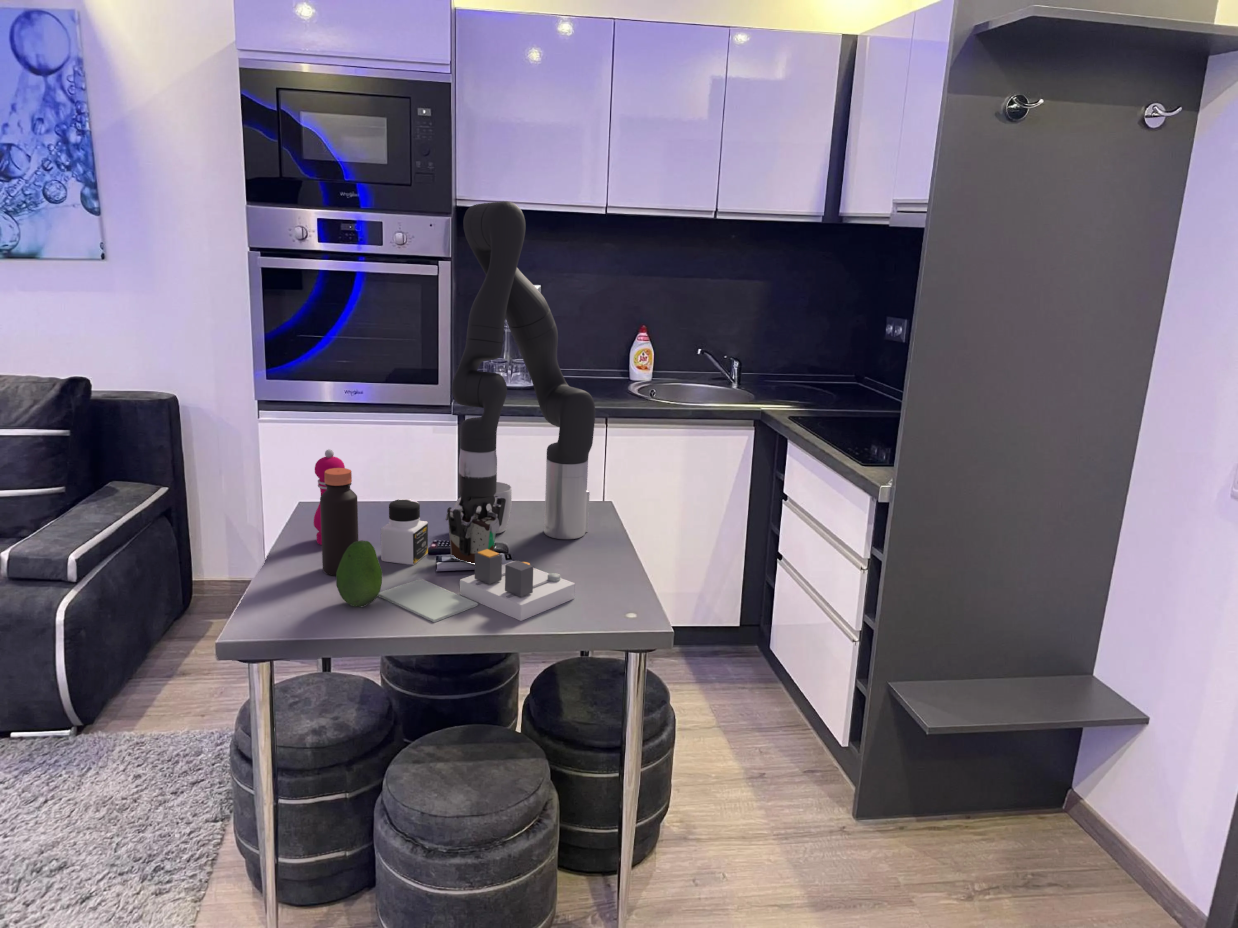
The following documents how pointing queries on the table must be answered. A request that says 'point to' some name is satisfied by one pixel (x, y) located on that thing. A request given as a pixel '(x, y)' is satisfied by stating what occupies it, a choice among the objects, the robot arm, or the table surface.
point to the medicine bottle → (404, 533)
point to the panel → (545, 596)
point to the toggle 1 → (488, 566)
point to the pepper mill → (320, 468)
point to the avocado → (359, 574)
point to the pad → (427, 600)
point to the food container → (476, 537)
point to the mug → (505, 492)
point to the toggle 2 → (519, 578)
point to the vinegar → (337, 518)
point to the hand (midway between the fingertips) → (476, 550)
